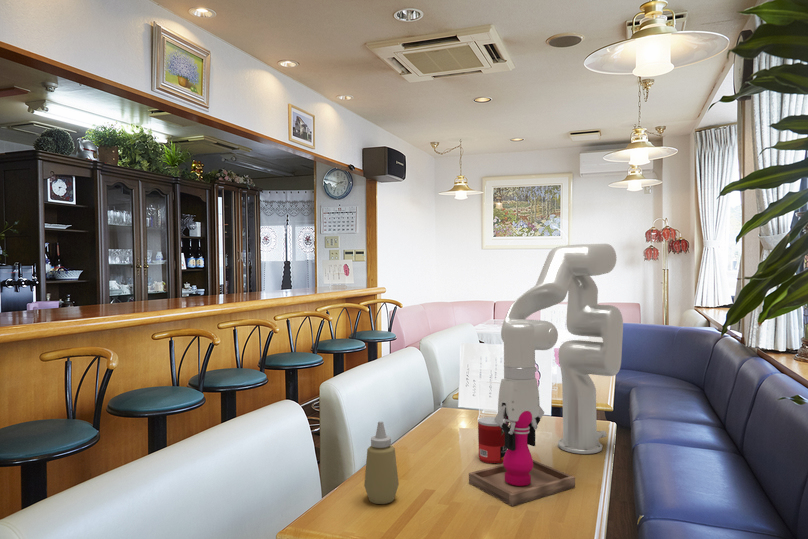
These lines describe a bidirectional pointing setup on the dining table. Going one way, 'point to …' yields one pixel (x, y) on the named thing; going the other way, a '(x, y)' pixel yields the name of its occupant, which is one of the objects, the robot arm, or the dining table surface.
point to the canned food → (491, 441)
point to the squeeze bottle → (381, 468)
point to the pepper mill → (519, 454)
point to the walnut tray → (541, 485)
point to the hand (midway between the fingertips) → (520, 446)
